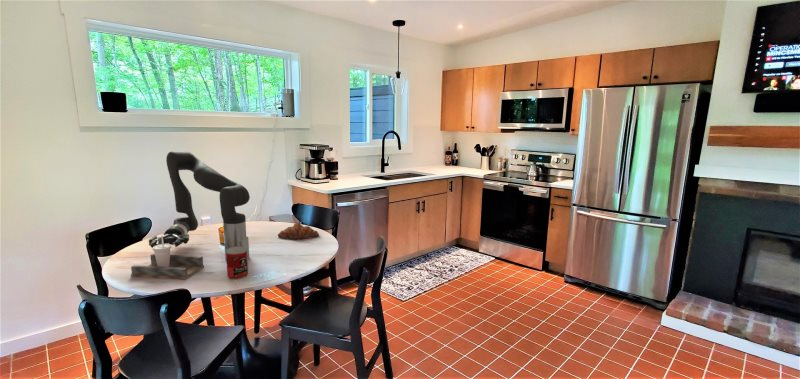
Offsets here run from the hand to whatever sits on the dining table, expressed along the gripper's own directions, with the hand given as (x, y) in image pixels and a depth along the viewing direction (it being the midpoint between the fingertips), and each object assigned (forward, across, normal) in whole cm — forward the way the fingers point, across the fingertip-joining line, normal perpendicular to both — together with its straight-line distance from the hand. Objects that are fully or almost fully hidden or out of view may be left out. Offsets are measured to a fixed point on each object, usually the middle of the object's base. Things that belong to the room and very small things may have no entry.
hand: (164, 245), depth 154 cm
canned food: (+13, +29, +11) cm, 34 cm away
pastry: (-36, +54, +11) cm, 66 cm away
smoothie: (+2, 0, +10) cm, 10 cm away
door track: (+3, +2, +10) cm, 11 cm away
